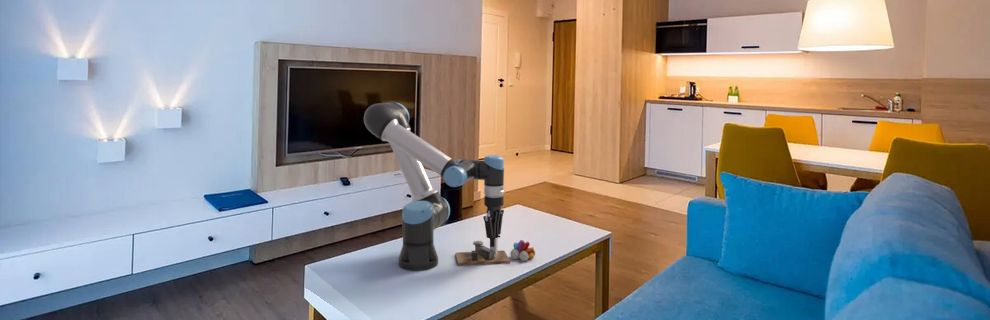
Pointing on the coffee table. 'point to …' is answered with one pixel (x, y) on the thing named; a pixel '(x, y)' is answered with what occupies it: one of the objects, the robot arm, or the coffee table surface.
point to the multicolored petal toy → (522, 251)
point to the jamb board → (480, 257)
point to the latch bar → (485, 252)
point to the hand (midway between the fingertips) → (493, 253)
